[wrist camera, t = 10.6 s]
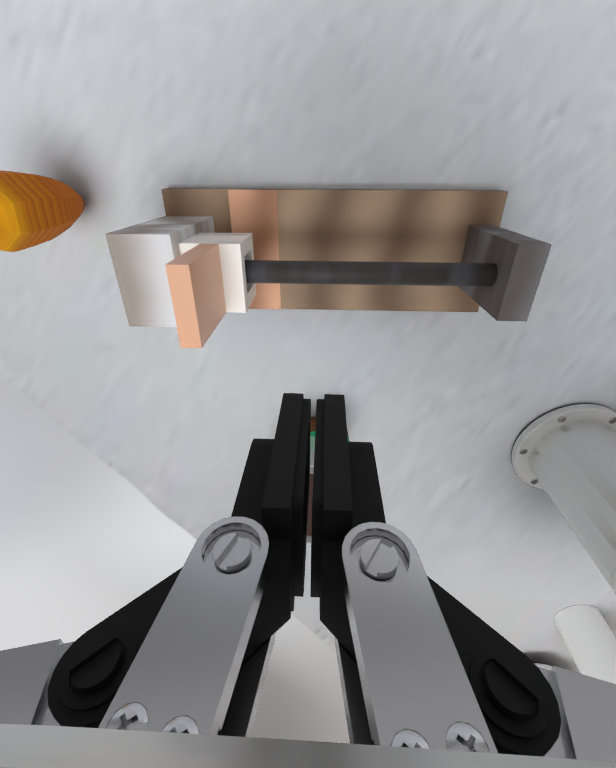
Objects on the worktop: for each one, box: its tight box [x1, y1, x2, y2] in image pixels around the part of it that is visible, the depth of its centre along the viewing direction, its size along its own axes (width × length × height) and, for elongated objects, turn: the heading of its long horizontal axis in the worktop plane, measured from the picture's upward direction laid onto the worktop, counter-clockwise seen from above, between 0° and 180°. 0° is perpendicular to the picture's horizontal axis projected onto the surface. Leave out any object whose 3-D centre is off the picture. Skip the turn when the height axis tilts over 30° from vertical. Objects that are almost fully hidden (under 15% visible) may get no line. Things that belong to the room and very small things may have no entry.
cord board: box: [105, 188, 551, 327], centre depth 28 cm, size 28×10×12 cm, turn 90°
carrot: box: [0, 171, 84, 252], centre depth 25 cm, size 5×5×15 cm
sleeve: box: [165, 233, 256, 348], centre depth 24 cm, size 4×5×11 cm
